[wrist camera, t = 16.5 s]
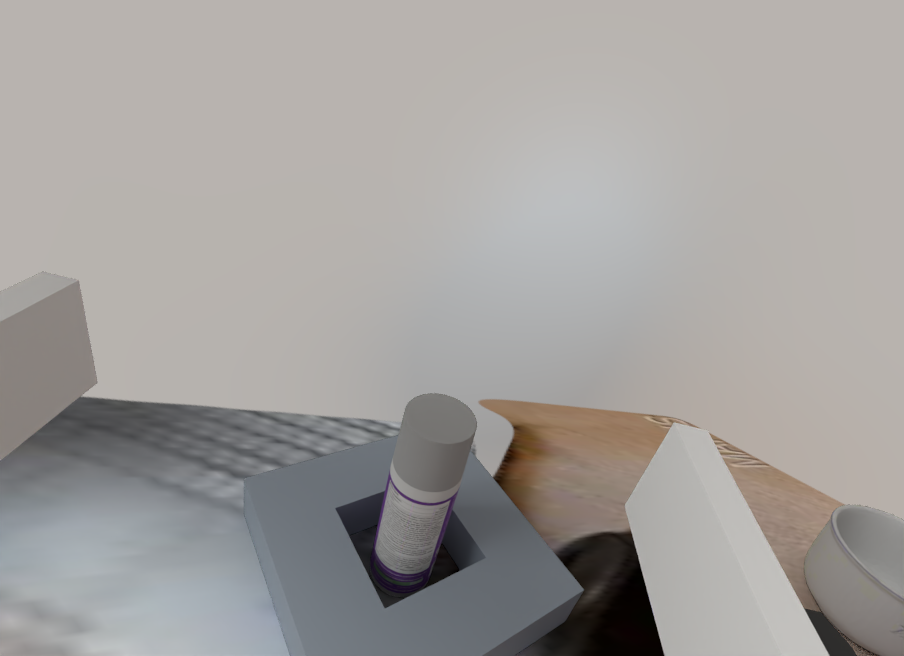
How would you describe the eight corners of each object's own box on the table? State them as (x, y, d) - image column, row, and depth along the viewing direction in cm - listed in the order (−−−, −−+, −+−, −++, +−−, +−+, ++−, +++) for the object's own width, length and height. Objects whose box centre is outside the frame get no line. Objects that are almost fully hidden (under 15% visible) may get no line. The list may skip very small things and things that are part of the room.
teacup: (870, 698, 36) (947, 641, 32) (757, 562, 45) (807, 504, 41) (979, 663, 41) (1059, 609, 37) (858, 546, 49) (912, 493, 45)
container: (398, 528, 39) (434, 382, 32) (443, 566, 37) (493, 420, 30) (355, 567, 36) (386, 413, 28) (403, 611, 34) (449, 458, 26)
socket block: (243, 514, 38) (244, 478, 36) (438, 451, 48) (446, 421, 46) (330, 779, 26) (338, 747, 24) (565, 621, 36) (584, 590, 34)
